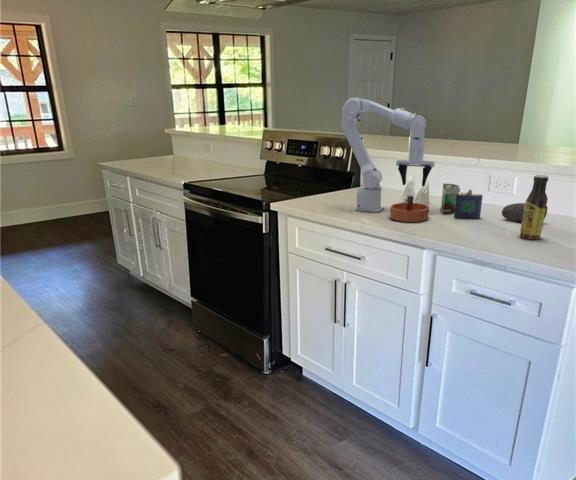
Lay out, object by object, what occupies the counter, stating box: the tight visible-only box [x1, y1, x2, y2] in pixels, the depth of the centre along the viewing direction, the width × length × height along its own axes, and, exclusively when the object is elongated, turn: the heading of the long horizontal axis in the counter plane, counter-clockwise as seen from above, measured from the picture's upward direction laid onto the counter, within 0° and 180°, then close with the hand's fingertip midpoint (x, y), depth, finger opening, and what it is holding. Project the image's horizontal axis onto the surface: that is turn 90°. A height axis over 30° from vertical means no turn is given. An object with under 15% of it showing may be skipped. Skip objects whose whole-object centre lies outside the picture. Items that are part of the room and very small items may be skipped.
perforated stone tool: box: [501, 202, 549, 223], centre depth 182 cm, size 15×5×7 cm, turn 51°
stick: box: [406, 196, 414, 211], centre depth 191 cm, size 2×2×8 cm
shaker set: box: [400, 176, 430, 205], centre depth 215 cm, size 12×4×11 cm, turn 48°
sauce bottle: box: [519, 174, 549, 240], centre depth 160 cm, size 7×6×20 cm
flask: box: [454, 189, 483, 220], centre depth 188 cm, size 9×3×11 cm, turn 74°
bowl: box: [389, 202, 430, 223], centre depth 192 cm, size 14×14×4 cm
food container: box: [440, 182, 461, 215], centre depth 199 cm, size 12×6×10 cm, turn 168°
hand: (413, 185), depth 199 cm, fingers open, 7 cm apart
